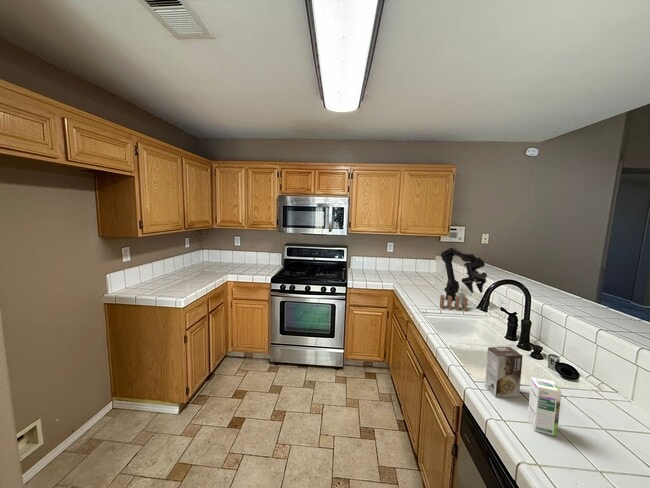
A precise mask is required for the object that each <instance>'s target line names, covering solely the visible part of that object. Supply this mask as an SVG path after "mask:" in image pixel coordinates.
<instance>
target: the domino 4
mask: <svg viewBox="0 0 650 488" xmlns="http://www.w3.org/2000/svg"><path fill="white" fill-rule="evenodd" d="M463 297H466V294H465V292H460V297H459V298H460V304H459V306H461V307H462V300H463Z"/></svg>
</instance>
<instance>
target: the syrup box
mask: <svg viewBox="0 0 650 488" xmlns="http://www.w3.org/2000/svg"><path fill="white" fill-rule="evenodd" d="M561 400H562V390H561V389H560V387H559V386H558V385H557V383H556V382H554V380H548V379H542V378H538V377H533V376H532V377H531V378H530V389H529V400H528V401H529V402H528V411H527V412H528V414H527V419H528V420H527V421H528V422H529V424H530V425H531V428H532V430H533V431H534V432H539V433H543V434H547V435H551V436H554V437H558V431H559V430H558V429H559V421H560V420H559V419H560V418H559V417H560V409H561V403H562V401H561Z"/></svg>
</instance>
